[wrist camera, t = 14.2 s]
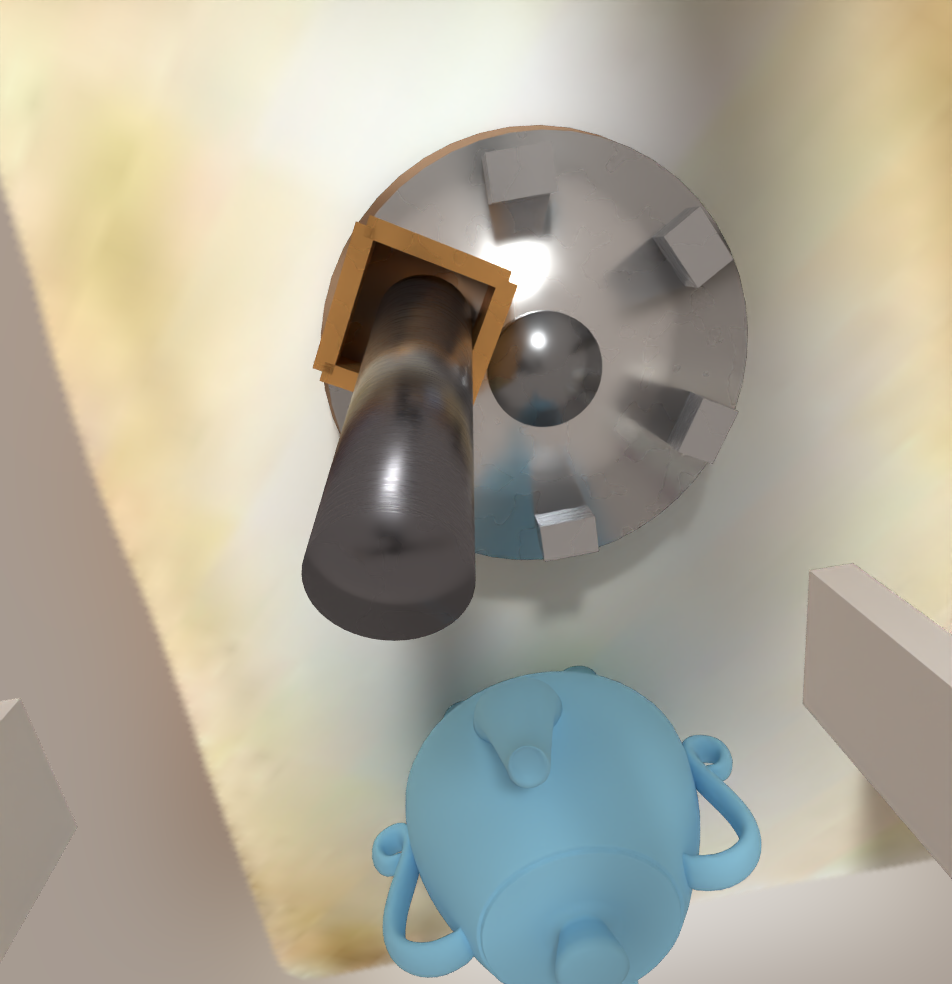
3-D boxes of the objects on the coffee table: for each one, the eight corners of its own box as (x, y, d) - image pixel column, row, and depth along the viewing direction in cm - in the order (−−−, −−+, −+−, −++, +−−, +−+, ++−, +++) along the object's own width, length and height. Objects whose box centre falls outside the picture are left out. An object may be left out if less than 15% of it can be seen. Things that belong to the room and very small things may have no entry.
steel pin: (358, 330, 29) (270, 593, 16) (412, 254, 27) (361, 481, 14) (435, 381, 30) (411, 661, 17) (490, 313, 29) (510, 568, 16)
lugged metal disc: (798, 235, 32) (858, 233, 27) (629, 585, 37) (657, 628, 33) (407, 60, 28) (407, 27, 24) (283, 479, 33) (264, 512, 29)
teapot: (485, 572, 37) (524, 749, 24) (742, 718, 42) (890, 930, 29) (335, 779, 41) (300, 1028, 28) (588, 891, 46) (658, 1146, 33)
